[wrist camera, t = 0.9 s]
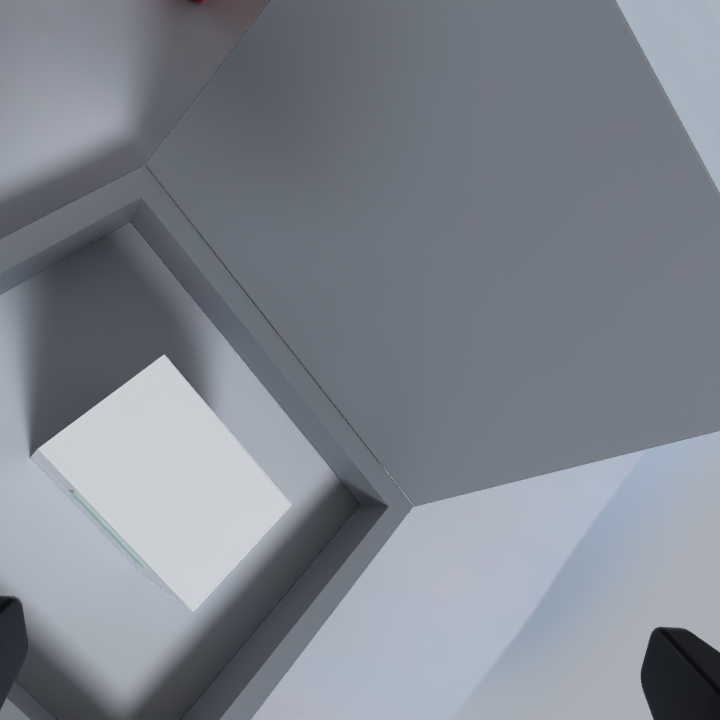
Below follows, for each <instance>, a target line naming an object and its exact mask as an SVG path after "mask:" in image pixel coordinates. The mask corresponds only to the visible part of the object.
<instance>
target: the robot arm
mask: <svg viewBox="0 0 720 720" xmlns="http://www.w3.org/2000/svg"><path fill="white" fill-rule="evenodd" d="M27 649H28V639H27V633H26V626H25V620H24V613H23V607H22V603H21V601H20V600H19V599H18V598H17V597H14V596H0V710H1V708H2V706H3V704H4V702H5V700H6V698H7V696H8V694H9V692H10V690H11V688H12V685H13V683H14V681H15V679H16V677H17V675H18V673H19V671H20V669H21V667H22V665H23V662H24V660H25V657H26V654H27ZM641 683H642V688H643V691H644V694H645V697H646V700H647V702H648V705H649V708H650V711H651V714H652V716H653V719H654V720H720V652H718V651H717V650H716V649H714V648H712V647H711V646H710V645H708V644H707V643H706V642H704V641H703V640H701V639H700V638H698V637H697V636H696V635H694V634H693V633H691V632H690V631H688V630H686V629H683V628H671V627H658V628H655V629H654V631H653V632H652V633H651V636H650V640H649V643H648V647H647V650H646V654H645V657H644V661H643V664H642V668H641Z"/></svg>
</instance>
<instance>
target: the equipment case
mask: <svg viewBox="0 0 720 720" xmlns="http://www.w3.org/2000/svg"><path fill="white" fill-rule="evenodd" d="M128 222H131V223H132V224H133V225H134V227H135V228H136V229H137V230H138V232H139V233H140V234H141V235H142V236H143V238H144V239H145V240H146V241H147V243H148V244H149V245H150V246H151V248H152V249H153V250H154V251H155V252H156V254H157V255H158V256H159V257H160V259H161V260H162V261H163V262H164V264H165V265H166V266H167V267H168V268H169V270H170V271H171V272H172V273H173V275H174V276H175V277H176V278H177V280H178V281H179V282H180V283H181V284H182V286H183V287H184V288H185V289H186V291H187V292H188V293H189V294H190V296H191V297H192V298H193V299H194V300H195V302H196V303H197V304H198V305H199V307H200V308H201V309H202V310H203V312H204V313H205V314H206V315H207V316H208V318H209V319H210V320H211V321H212V323H213V324H214V325H215V326H216V328H217V329H218V330H219V331H220V332H221V334H222V335H223V336H224V337H225V339H226V340H227V341H228V342H229V344H230V345H231V346H232V347H233V348H234V350H235V351H236V352H237V353H238V355H239V356H240V357H241V358H242V360H243V361H244V362H245V363H246V364H247V366H248V367H249V368H250V369H251V371H252V372H253V373H254V374H255V376H256V377H257V378H258V379H259V380H260V382H261V383H262V384H263V385H264V387H265V388H266V389H267V390H268V392H269V393H270V394H271V395H272V396H273V398H274V399H275V400H276V401H277V403H278V404H279V405H280V406H281V408H282V409H283V410H284V411H285V412H286V414H287V415H288V416H289V417H290V419H291V420H292V421H293V422H294V424H295V425H296V426H297V427H298V428H299V430H300V431H301V432H302V433H303V435H304V436H305V437H306V438H307V440H308V441H309V442H310V443H311V444H312V446H313V447H314V448H315V449H316V451H317V452H318V453H319V454H320V456H321V457H322V458H323V459H324V460H325V462H326V463H327V464H328V465H329V467H330V468H331V469H332V470H333V472H334V473H335V474H336V475H337V476H338V478H339V479H340V480H341V481H342V483H343V484H344V485H345V486H346V488H347V489H348V490H349V491H350V492H351V494H352V495H353V496H354V497H355V499H356V500H357V501H358V502H359V504H360V505H359V507H358V508H357V509H356V510H355V511H354V513H353V514H352V515H351V516H350V517H349V519H348V520H347V521H346V522H345V523H344V525H343V526H342V527H341V528H340V529H339V531H338V532H337V533H336V534H335V535H334V537H333V538H332V539H331V540H330V541H329V543H328V544H327V545H326V546H325V547H324V549H323V550H322V551H321V552H320V553H319V555H318V556H317V557H316V558H315V559H314V561H313V562H312V563H311V564H310V566H309V567H308V568H307V569H306V570H305V572H304V573H303V574H302V575H301V576H300V578H299V579H298V580H297V581H296V582H295V584H294V585H293V586H292V587H291V588H290V590H289V591H288V592H287V593H286V594H285V596H284V597H283V598H282V599H281V600H280V602H279V603H278V604H277V605H276V606H275V608H274V609H273V610H272V611H271V612H270V614H269V615H268V616H267V617H266V618H265V620H264V621H263V622H262V623H261V624H260V626H259V627H258V628H257V629H256V630H255V632H254V633H253V634H252V635H251V636H250V638H249V639H248V640H247V641H246V642H245V644H244V645H243V646H242V647H241V648H240V650H239V651H238V652H237V653H236V654H235V656H234V657H233V658H232V659H231V660H230V662H229V663H228V664H227V665H226V666H225V668H224V669H223V670H222V671H221V672H220V674H219V675H218V676H217V677H216V678H215V680H214V681H213V682H212V683H211V684H210V686H209V687H208V688H207V689H206V690H205V692H204V693H203V694H202V695H201V696H200V698H199V699H198V700H197V701H196V702H195V704H194V705H193V706H192V707H191V708H190V710H189V711H188V712H187V713H186V714H185V716H184V717H183V718H182V719H181V720H251V719H252V717H253V716H254V715H255V713H256V712H257V711H258V709H259V708H260V707H261V705H262V704H263V703H264V702H265V700H266V699H267V698H268V696H269V695H270V694H271V692H272V691H273V690H274V688H275V687H276V686H277V684H278V683H279V682H280V681H281V679H282V678H283V677H284V675H285V674H286V673H287V671H288V670H289V669H290V667H291V666H292V665H293V663H294V662H295V661H296V660H297V658H298V657H299V656H300V654H301V653H302V652H303V650H304V649H305V648H306V646H307V645H308V644H309V643H310V641H311V640H312V639H313V637H314V636H315V635H316V633H317V632H318V631H319V629H320V628H321V627H322V625H323V624H324V623H325V622H326V620H327V619H328V618H329V616H330V615H331V614H332V612H333V611H334V610H335V608H336V607H337V606H338V604H339V603H340V602H341V601H342V599H343V598H344V597H345V595H346V594H347V593H348V591H349V590H350V589H351V587H352V586H353V585H354V584H355V582H356V581H357V580H358V578H359V577H360V576H361V574H362V573H363V572H364V570H365V569H366V568H367V566H368V565H369V564H370V563H371V561H372V560H373V559H374V557H375V556H376V555H377V553H378V552H379V551H380V549H381V548H382V547H383V545H384V544H385V543H386V542H387V540H388V539H389V538H390V536H391V535H392V534H393V532H394V531H395V530H396V528H397V527H398V526H399V525H400V523H401V522H402V521H403V519H404V518H405V517H406V515H407V514H408V513H409V511H410V510H411V509H412V507H413V505H412V504H411V503H410V502H409V500H408V499H407V498H406V497H405V495H404V494H403V493H402V491H401V490H400V489H399V488H398V486H397V485H396V484H395V483H394V481H393V480H392V479H391V477H390V476H389V475H388V474H387V472H386V471H385V470H384V469H383V467H382V466H381V465H380V463H379V462H378V461H377V460H376V458H375V457H374V456H373V455H372V453H371V452H370V451H369V449H368V448H367V447H366V446H365V444H364V443H363V442H362V441H361V439H360V438H359V437H358V435H357V434H356V433H355V432H354V430H353V429H352V428H351V427H350V425H349V424H348V423H347V421H346V420H345V419H344V418H343V416H342V415H341V414H340V413H339V411H338V410H337V409H336V407H335V406H334V405H333V404H332V402H331V401H330V400H329V399H328V397H327V396H326V395H325V393H324V392H323V391H322V390H321V388H320V387H319V386H318V385H317V383H316V382H315V381H314V379H313V378H312V377H311V376H310V374H309V373H308V372H307V371H306V369H305V368H304V367H303V365H302V364H301V363H300V362H299V360H298V359H297V358H296V357H295V355H294V354H293V353H292V351H291V350H290V349H289V348H288V346H287V345H286V344H285V343H284V341H283V340H282V339H281V337H280V336H279V335H278V334H277V332H276V331H275V330H274V329H273V327H272V326H271V325H270V323H269V322H268V321H267V320H266V318H265V317H264V316H263V315H262V313H261V312H260V311H259V309H258V308H257V307H256V306H255V304H254V303H253V302H252V301H251V299H250V298H249V297H248V295H247V294H246V293H245V292H244V290H243V289H242V288H241V287H240V285H239V284H238V283H237V281H236V280H235V279H234V278H233V276H232V275H231V274H230V273H229V271H228V270H227V269H226V267H225V266H224V265H223V264H222V262H221V261H220V260H219V259H218V257H217V256H216V255H215V253H214V252H213V251H212V250H211V248H210V247H209V246H208V245H207V243H206V242H205V241H204V239H203V238H202V237H201V236H200V234H199V233H198V232H197V231H196V229H195V228H194V227H193V225H192V224H191V223H190V222H189V220H188V219H187V218H186V217H185V215H184V214H183V213H182V211H181V210H180V209H179V208H178V206H177V205H176V204H175V203H174V201H173V200H172V199H171V197H170V196H169V195H168V194H167V192H166V191H165V190H164V189H163V187H162V186H161V185H160V183H159V182H158V181H157V180H156V178H155V177H154V176H153V175H152V173H151V172H150V171H149V170H148V168H147V167H146V166H145V165H144V166H142V167H140V168H138V169H136V170H135V171H133V172H131V173H129V174H127V175H125V176H123V177H121V178H119V179H117V180H115V181H113V182H111V183H109V184H107V185H105V186H103V187H101V188H99V189H97V190H95V191H93V192H91V193H89V194H87V195H85V196H84V197H82V198H80V199H78V200H76V201H74V202H72V203H70V204H68V205H66V206H64V207H62V208H60V209H58V210H56V211H54V212H52V213H50V214H48V215H46V216H44V217H42V218H40V219H38V220H36V221H34V222H33V223H31V224H29V225H27V226H25V227H23V228H21V229H19V230H17V231H15V232H13V233H11V234H9V235H7V236H5V237H3V238H1V239H0V295H1V294H3V293H5V292H6V291H8V290H10V289H12V288H13V287H15V286H17V285H19V284H20V283H22V282H24V281H26V280H28V279H29V278H31V277H33V276H35V275H36V274H38V273H40V272H42V271H43V270H45V269H47V268H49V267H51V266H52V265H54V264H56V263H58V262H59V261H61V260H63V259H65V258H66V257H68V256H70V255H72V254H74V253H75V252H77V251H79V250H81V249H82V248H84V247H86V246H88V245H89V244H91V243H93V242H95V241H97V240H98V239H100V238H102V237H104V236H105V235H107V234H109V233H111V232H112V231H114V230H116V229H118V228H120V227H121V226H123V225H125V224H127V223H128ZM0 720H57V719H56V718H55V717H54V716H53V715H52V714H51V713H50V712H49V711H47V710H46V709H45V708H44V707H43V706H42V705H41V704H40V703H39V702H38V701H37V700H35V699H34V698H33V697H32V696H31V695H30V694H29V693H28V692H27V691H26V690H25V689H23V688H22V687H21V686H20V685H19V684H18V683H17V682H16V681H14V683H13V685H12V688H11V690H10V692H9V694H8V696H7V698H6V700H5V702H4V704H3V706H2V708H1V710H0Z"/></svg>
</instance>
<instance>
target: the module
mask: <svg viewBox="0 0 720 720" xmlns="http://www.w3.org/2000/svg"><path fill="white" fill-rule="evenodd" d="M30 458H31V460H32V461H33V462H34V463H35V464H36V465H37V466H38V467H39V468H40V469H41V470H42V471H43V472H44V473H45V474H46V475H47V476H48V477H49V478H50V479H51V480H52V481H53V482H54V483H55V485H56V486H57V487H58V488H59V489H60V490H61V491H62V492H63V493H64V494H65V495H66V496H67V497H68V498H69V499H70V500H71V501H72V502H73V503H74V504H75V505H76V506H77V507H78V508H79V510H80V511H81V512H82V513H83V514H84V515H85V516H86V517H87V518H88V519H89V520H90V521H91V522H92V523H93V524H94V525H95V526H96V527H97V528H98V529H99V530H100V531H101V532H102V533H103V535H104V536H105V537H106V538H107V539H108V540H109V541H110V542H111V543H112V544H113V545H114V546H115V547H116V548H117V549H118V550H119V551H120V552H121V553H122V554H123V555H124V556H125V557H126V559H127V560H128V561H129V562H130V563H131V564H132V565H133V566H134V567H135V568H136V569H137V570H138V571H139V572H141V573H142V574H143V575H145V576H146V577H147V578H149V579H150V580H151V581H153V582H154V583H155V584H157V585H158V586H159V587H161V588H162V589H163V590H165V591H166V592H167V593H168V594H170V595H171V596H172V597H174V598H175V599H176V600H178V601H179V602H180V603H182V604H183V605H184V606H186V607H187V608H188V609H190V610H191V611H192V612H194V611H195V610H196V609H197V608H198V607H199V605H200V604H201V603H202V602H203V601H204V600H205V599H206V598H207V597H208V596H209V595H210V593H211V592H212V591H213V590H214V589H215V588H216V587H217V586H218V585H219V584H220V583H221V582H222V580H223V579H224V578H225V577H226V576H227V575H228V574H229V573H230V572H231V571H232V570H233V568H234V567H235V566H236V565H237V564H238V563H239V562H240V561H241V560H242V559H243V558H244V557H245V555H246V554H247V553H248V552H249V551H250V550H251V549H252V548H253V547H254V546H255V545H256V543H257V542H258V541H259V540H260V539H261V538H262V537H263V536H264V535H265V534H266V533H267V532H268V530H269V529H270V528H271V527H272V526H273V525H274V524H275V523H276V522H277V521H278V520H279V519H280V517H281V516H282V515H283V514H284V513H285V512H286V511H287V510H288V509H289V508H290V507H291V505H292V504H291V503H290V502H289V501H288V500H287V498H286V497H285V496H284V495H283V494H282V492H281V491H280V490H279V489H278V488H277V487H276V485H275V484H274V483H273V482H272V481H271V479H270V478H269V477H268V476H267V475H266V474H265V472H264V471H263V470H262V469H261V468H260V466H259V465H258V464H257V463H256V462H255V461H254V459H253V458H252V457H251V456H250V455H249V454H248V452H247V451H246V450H245V449H244V448H243V446H242V445H241V444H240V443H239V442H238V441H237V439H236V438H235V437H234V436H233V435H232V433H231V432H230V431H229V430H228V429H227V428H226V426H225V425H224V424H223V423H222V422H221V420H220V419H219V418H218V417H217V416H216V415H215V413H214V412H213V411H212V410H211V409H210V407H209V406H208V405H207V404H206V403H205V402H204V400H203V399H202V398H201V397H200V396H199V395H198V393H197V392H196V391H195V390H194V389H193V387H192V386H191V385H190V384H189V383H188V382H187V380H186V379H185V378H184V377H183V376H182V374H181V373H180V372H179V371H178V370H177V369H176V367H175V366H174V365H173V364H172V363H171V361H170V360H169V359H168V358H167V357H166V356H165V354H164V355H163V356H161V357H160V358H159V359H157V360H156V361H155V362H153V363H152V364H151V365H149V366H148V367H146V368H145V369H144V370H142V371H141V372H140V373H138V374H137V375H136V376H134V377H133V378H132V379H130V380H129V381H128V382H126V383H125V384H124V385H122V386H121V387H120V388H118V389H117V390H116V391H114V392H113V393H112V394H110V395H109V396H108V397H106V398H105V399H104V400H102V401H101V402H100V403H98V404H97V405H95V406H94V407H93V408H91V409H90V410H89V411H87V412H86V413H85V414H83V415H82V416H81V417H79V418H78V419H77V420H75V421H74V422H73V423H71V424H70V425H69V426H67V427H66V428H65V429H63V430H62V431H61V432H59V433H58V434H57V435H55V436H54V437H53V438H51V439H50V440H49V441H47V442H46V443H44V444H43V445H42V446H40V447H39V448H38V449H37V450H36V451H35V452H34V453H33V455H32V456H31V457H30Z"/></svg>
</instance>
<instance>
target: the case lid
mask: <svg viewBox="0 0 720 720" xmlns="http://www.w3.org/2000/svg"><path fill="white" fill-rule="evenodd" d="M146 165H147V166H148V168H149V169H150V170H151V172H152V173H153V174H154V175H155V177H156V178H157V179H158V180H159V182H160V183H161V184H162V186H163V187H164V188H165V189H166V191H167V192H168V193H169V194H170V196H171V197H172V198H173V200H174V201H175V202H176V203H177V205H178V206H179V207H180V208H181V210H182V211H183V212H184V214H185V215H186V216H187V217H188V219H189V220H190V221H191V222H192V224H193V225H194V226H195V228H196V229H197V230H198V231H199V233H200V234H201V235H202V236H203V238H204V239H205V240H206V242H207V243H208V244H209V245H210V247H211V248H212V249H213V250H214V252H215V253H216V254H217V256H218V257H219V258H220V259H221V261H222V262H223V263H224V264H225V266H226V267H227V268H228V270H229V271H230V272H231V273H232V275H233V276H234V277H235V278H236V280H237V281H238V282H239V284H240V285H241V286H242V287H243V289H244V290H245V291H246V292H247V294H248V295H249V296H250V298H251V299H252V300H253V301H254V303H255V304H256V305H257V307H258V308H259V309H260V310H261V312H262V313H263V314H264V315H265V317H266V318H267V319H268V321H269V322H270V323H271V324H272V326H273V327H274V328H275V329H276V331H277V332H278V333H279V335H280V336H281V337H282V338H283V340H284V341H285V342H286V343H287V345H288V346H289V347H290V349H291V350H292V351H293V352H294V354H295V355H296V356H297V357H298V359H299V360H300V361H301V363H302V364H303V365H304V366H305V368H306V369H307V370H308V371H309V373H310V374H311V375H312V377H313V378H314V379H315V380H316V382H317V383H318V384H319V385H320V387H321V388H322V389H323V391H324V392H325V393H326V394H327V396H328V397H329V398H330V399H331V401H332V402H333V403H334V405H335V406H336V407H337V408H338V410H339V411H340V412H341V413H342V415H343V416H344V417H345V419H346V420H347V421H348V422H349V424H350V425H351V426H352V427H353V429H354V430H355V431H356V433H357V434H358V435H359V436H360V438H361V439H362V440H363V441H364V443H365V444H366V445H367V447H368V448H369V449H370V450H371V452H372V453H373V454H374V455H375V457H376V458H377V459H378V461H379V462H380V463H381V464H382V466H383V467H384V468H385V470H386V471H387V472H388V473H389V475H390V476H391V477H392V478H393V480H394V481H395V482H396V484H397V485H398V486H399V487H400V489H401V490H402V491H403V492H404V494H405V495H406V496H407V498H408V499H409V500H410V501H411V503H412V504H413V505H414V506H419V505H423V504H427V503H431V502H435V501H439V500H443V499H447V498H451V497H455V496H459V495H463V494H467V493H471V492H475V491H479V490H483V489H487V488H491V487H495V486H499V485H503V484H507V483H511V482H515V481H519V480H524V479H528V478H532V477H536V476H540V475H544V474H548V473H552V472H556V471H560V470H564V469H568V468H572V467H576V466H580V465H584V464H588V463H592V462H596V461H600V460H604V459H608V458H612V457H616V456H620V455H624V454H628V453H632V452H636V451H640V450H644V449H649V448H653V447H656V446H661V445H664V444H668V443H673V442H677V441H681V440H685V439H688V438H693V437H697V436H701V435H705V434H709V433H713V432H717V431H720V193H719V191H718V189H717V187H716V185H715V184H714V182H713V180H712V178H711V176H710V174H709V172H708V171H707V169H706V167H705V165H704V163H703V161H702V159H701V158H700V156H699V154H698V152H697V150H696V148H695V147H694V145H693V143H692V141H691V139H690V137H689V135H688V134H687V132H686V130H685V128H684V126H683V124H682V122H681V121H680V119H679V117H678V115H677V113H676V111H675V109H674V108H673V106H672V104H671V102H670V100H669V98H668V97H667V95H666V93H665V91H664V89H663V87H662V85H661V84H660V82H659V80H658V78H657V76H656V74H655V72H654V71H653V69H652V67H651V65H650V63H649V61H648V59H647V58H646V56H645V54H644V52H643V50H642V48H641V47H640V45H639V43H638V41H637V39H636V37H635V35H634V34H633V32H632V30H631V28H630V26H629V24H628V22H627V21H626V19H625V17H624V15H623V13H622V11H621V10H620V8H619V6H618V4H617V2H616V0H270V1H269V3H268V4H267V5H266V7H265V8H264V9H263V10H262V12H261V13H260V14H259V16H258V17H257V18H256V20H255V21H254V22H253V24H252V25H251V26H250V28H249V29H248V30H247V31H246V33H245V34H244V35H243V37H242V38H241V39H240V41H239V42H238V43H237V45H236V46H235V47H234V49H233V50H232V51H231V52H230V54H229V55H228V56H227V58H226V59H225V60H224V62H223V63H222V64H221V66H220V67H219V68H218V70H217V71H216V72H215V73H214V75H213V76H212V77H211V79H210V80H209V81H208V83H207V84H206V85H205V87H204V88H203V89H202V91H201V92H200V93H199V94H198V96H197V97H196V98H195V100H194V101H193V102H192V104H191V105H190V106H189V108H188V109H187V110H186V112H185V113H184V114H183V115H182V117H181V118H180V119H179V121H178V122H177V123H176V125H175V126H174V127H173V129H172V130H171V131H170V133H169V134H168V135H167V136H166V138H165V139H164V140H163V142H162V143H161V144H160V146H159V147H158V148H157V150H156V151H155V152H154V154H153V155H152V156H151V157H150V159H149V160H148V161H147V163H146Z"/></svg>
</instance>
